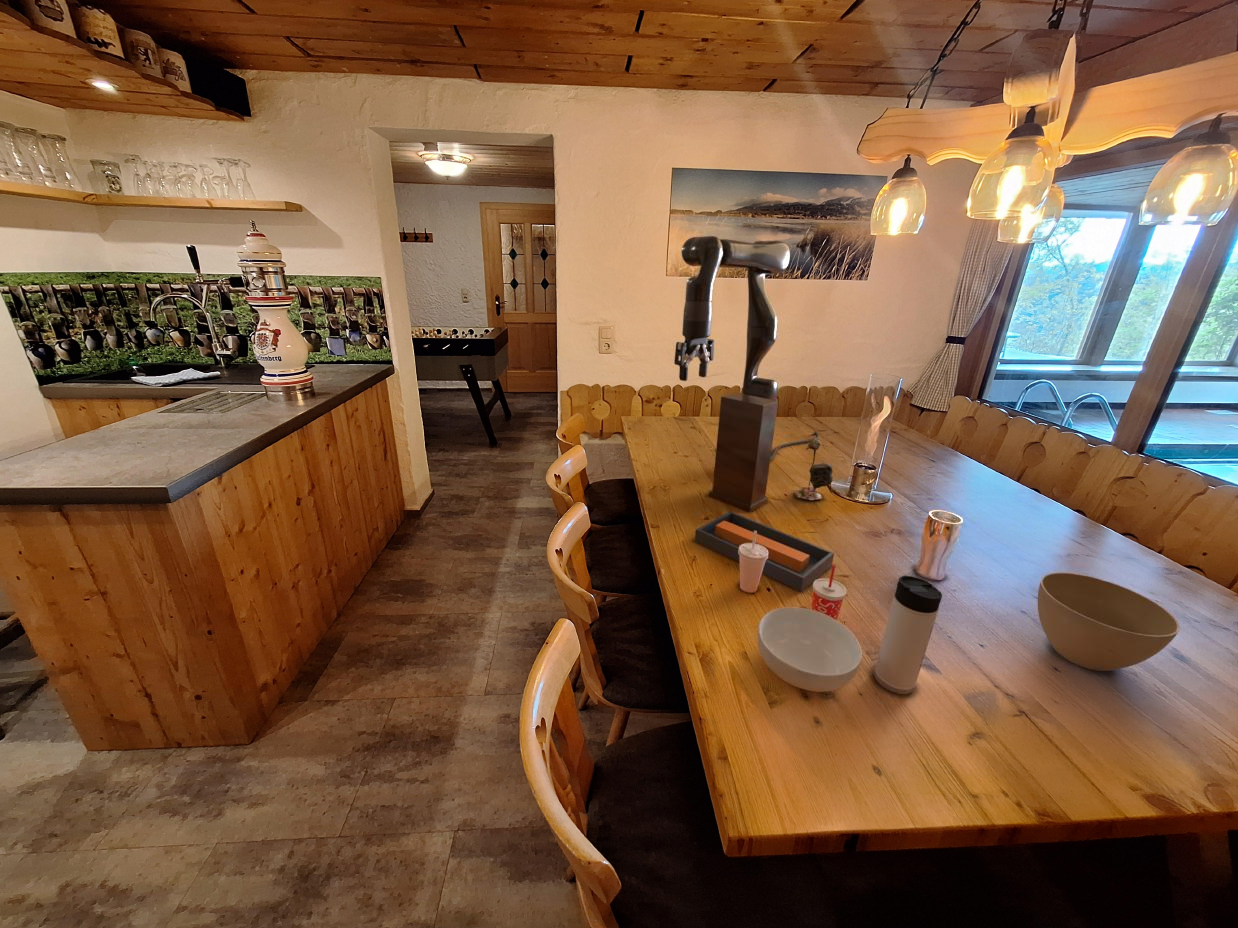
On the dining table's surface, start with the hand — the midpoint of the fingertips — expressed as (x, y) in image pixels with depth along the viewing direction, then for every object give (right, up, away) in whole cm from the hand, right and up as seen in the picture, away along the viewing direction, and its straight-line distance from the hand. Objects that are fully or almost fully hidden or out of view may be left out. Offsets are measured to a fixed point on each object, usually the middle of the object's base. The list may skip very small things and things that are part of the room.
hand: (693, 378), depth 137 cm
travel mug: (+27, -62, -52) cm, 85 cm away
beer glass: (+53, -50, -21) cm, 76 cm away
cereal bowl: (+12, -61, -50) cm, 79 cm away
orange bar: (+15, -46, -13) cm, 50 cm away
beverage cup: (+20, -56, -38) cm, 71 cm away
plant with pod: (+41, -35, +19) cm, 56 cm away
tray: (+15, -46, -13) cm, 51 cm away
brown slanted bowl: (+66, -60, -45) cm, 100 cm away
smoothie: (+8, -52, -27) cm, 59 cm away
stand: (+16, -35, +16) cm, 42 cm away
